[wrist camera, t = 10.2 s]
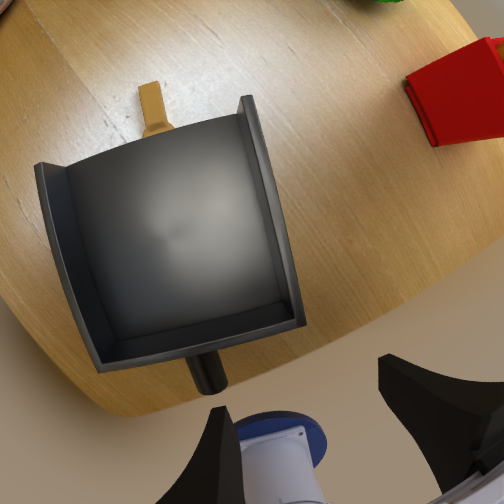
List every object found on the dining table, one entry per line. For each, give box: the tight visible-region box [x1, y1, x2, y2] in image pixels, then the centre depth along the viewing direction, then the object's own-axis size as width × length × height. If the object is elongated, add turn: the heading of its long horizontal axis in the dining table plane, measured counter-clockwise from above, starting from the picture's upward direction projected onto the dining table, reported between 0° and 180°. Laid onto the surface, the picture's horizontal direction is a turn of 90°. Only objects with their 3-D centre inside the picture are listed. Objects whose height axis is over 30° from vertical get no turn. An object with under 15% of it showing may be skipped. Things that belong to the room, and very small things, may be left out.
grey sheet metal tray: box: [34, 95, 307, 395], centre depth 13 cm, size 13×10×3 cm
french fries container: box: [405, 37, 504, 147], centre depth 13 cm, size 7×9×14 cm
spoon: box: [138, 81, 174, 138], centre depth 18 cm, size 5×2×1 cm, turn 14°
